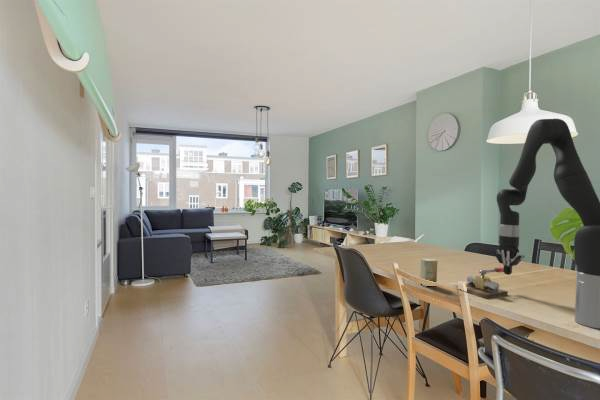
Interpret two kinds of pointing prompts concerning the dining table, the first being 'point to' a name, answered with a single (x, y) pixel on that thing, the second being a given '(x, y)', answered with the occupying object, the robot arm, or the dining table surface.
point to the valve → (483, 283)
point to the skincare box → (428, 270)
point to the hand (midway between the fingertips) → (507, 274)
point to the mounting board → (485, 292)
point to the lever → (491, 270)
